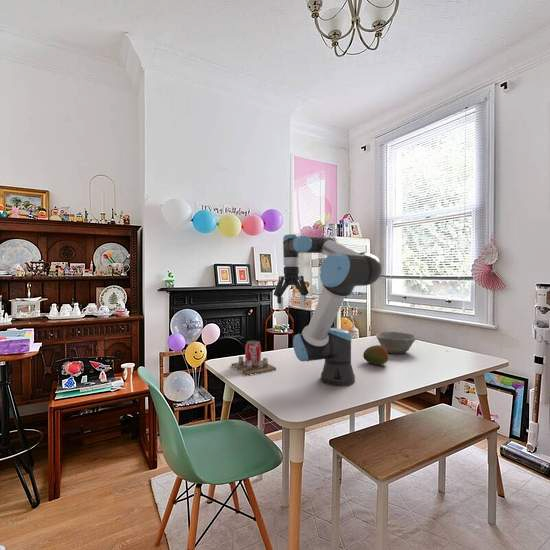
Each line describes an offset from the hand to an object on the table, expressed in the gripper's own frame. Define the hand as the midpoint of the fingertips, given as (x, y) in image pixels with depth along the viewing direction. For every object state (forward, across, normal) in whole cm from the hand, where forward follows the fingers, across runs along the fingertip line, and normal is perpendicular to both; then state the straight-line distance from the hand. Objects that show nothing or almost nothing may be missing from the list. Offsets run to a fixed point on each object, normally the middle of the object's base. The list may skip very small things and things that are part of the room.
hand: (291, 309), depth 162 cm
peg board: (+30, +14, -15) cm, 36 cm away
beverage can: (+29, +14, -15) cm, 35 cm away
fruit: (+31, -42, +17) cm, 54 cm away
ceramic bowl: (+30, -71, +9) cm, 78 cm away
